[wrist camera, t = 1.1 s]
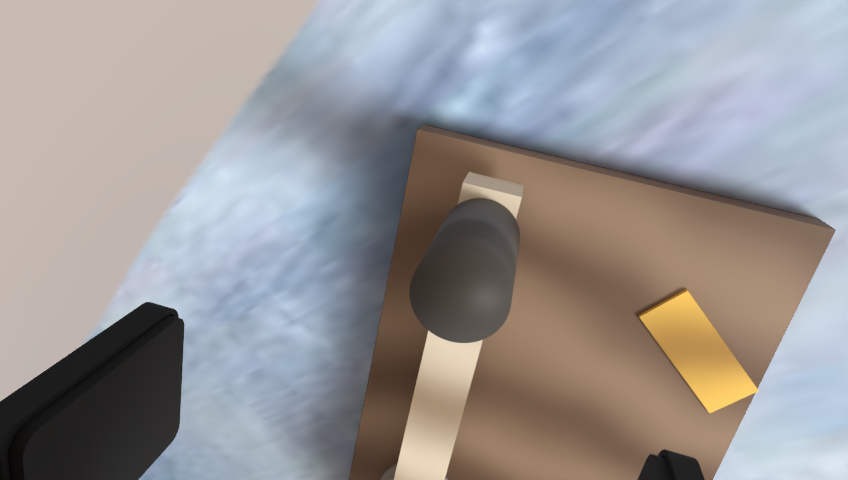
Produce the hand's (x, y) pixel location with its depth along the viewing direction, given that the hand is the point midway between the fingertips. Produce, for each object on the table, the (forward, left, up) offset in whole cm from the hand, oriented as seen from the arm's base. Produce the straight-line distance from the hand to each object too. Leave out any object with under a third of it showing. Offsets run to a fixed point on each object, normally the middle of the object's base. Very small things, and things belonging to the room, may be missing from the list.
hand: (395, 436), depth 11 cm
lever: (-9, 0, -16) cm, 18 cm away
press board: (-10, -5, -18) cm, 21 cm away
